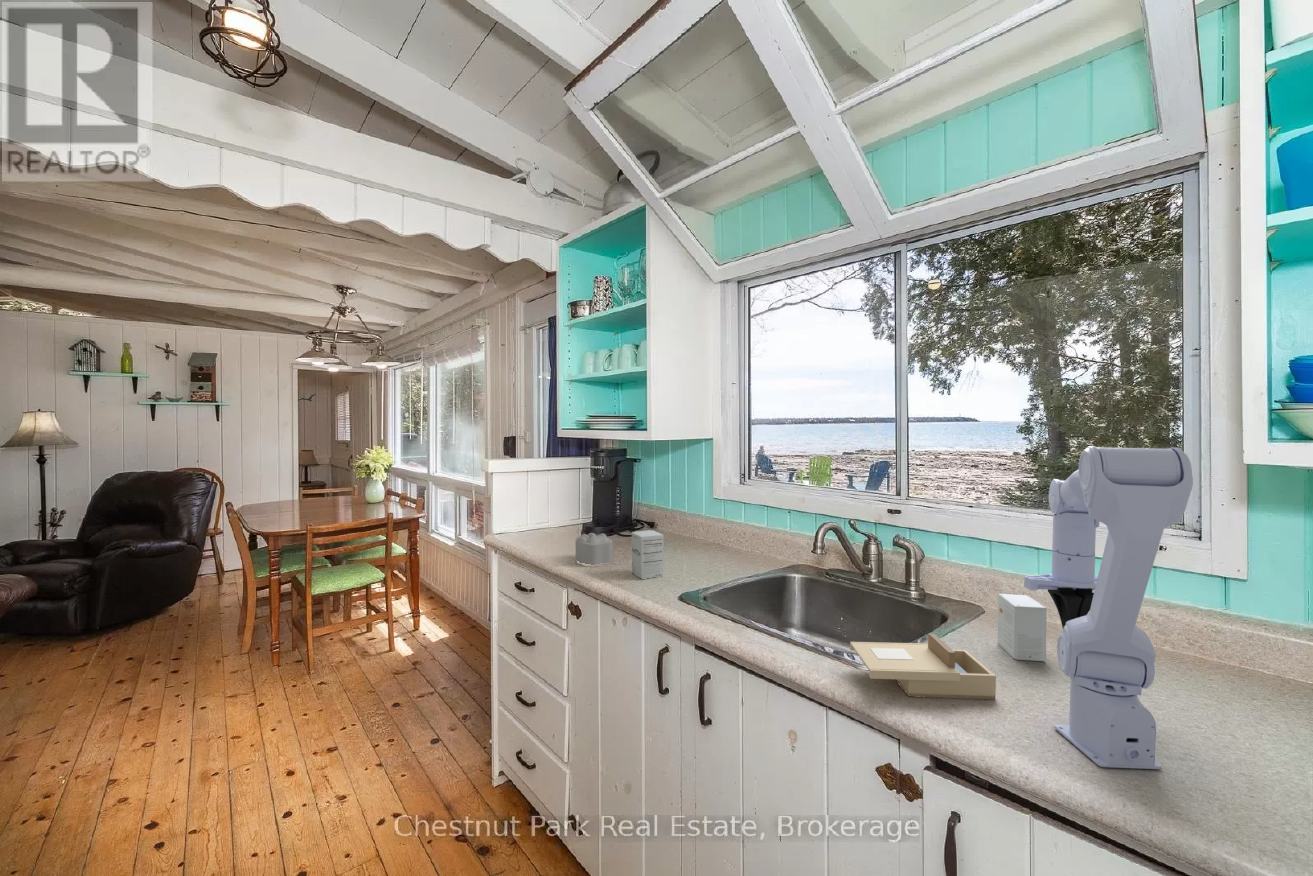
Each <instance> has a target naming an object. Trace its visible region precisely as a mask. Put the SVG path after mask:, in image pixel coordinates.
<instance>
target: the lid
mask: <svg viewBox="0 0 1313 876" xmlns="http://www.w3.org/2000/svg"><path fill="white" fill-rule="evenodd" d="M927 635H928V636H927V639H928V640H927V642H928V643H922V642H921V643H919V642H918V643H915V642H913V643H912V642H882V641H881V642H880V641H879V642H876V641H875V642H874V641H849V642H850V643H849V650H850V651H854V652H855V653H856V654H857V656H858V657H859V659H860V660H861V662H862V663H863V665H865V667H866V669H867V670H868V671H869V679H870V680H872V679H874V680H895V679H902V680H937V681H960V672H958V670H957V669H956V668H955V652H954V651H953V650H954V649H953V648H950V646H949V645H948V644H947V643H945V641H943V640H942V639H941V638H940V637H939V636H938V635H937V634H935V633H928V634H927Z"/></svg>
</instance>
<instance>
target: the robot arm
mask: <svg viewBox="0 0 1313 876" xmlns="http://www.w3.org/2000/svg"><path fill="white" fill-rule="evenodd" d="M1193 486H1194V478H1193V468H1192V463H1191V459H1190V458H1189V456H1188V455H1187V454H1186V453H1185V452H1184V451H1183V450H1182V449H1181V448H1179V447H1170V448H1152V447H1150V448H1146V447H1145V448H1144V447H1143V448H1142V447H1134V448H1133V447H1099V446H1098V447H1097V446H1095V445H1089V446H1086V448H1085V449H1084V450H1083V451H1082V452H1081V453H1080V457H1079V460H1078V469H1077V470H1075V471H1073V472H1072V473H1071V475H1069V476H1068V477H1067V478H1066V479H1065V480H1060V479H1058V478H1057V479H1056V478H1053V479H1051V482H1050V485H1049V490H1048V503H1049V504H1048V505H1049V509H1050V513H1051V514H1052V518H1053V519H1052V551H1051V573H1046V574H1038V575H1024V580H1023V585H1024V586H1023V587H1024V588H1026V589H1028V590H1030V591H1036V592H1037V591H1038V590H1047V592H1048V594H1049V596H1050V597H1051V599H1052V600H1053V603H1054V605H1055V608H1056V609H1057V612H1058V615H1059V618H1060V622H1061V626H1062V631H1061V633H1060V634H1058V635H1057V636H1058V637H1057V641H1056V653H1057V655H1056V656H1057V661H1058V666H1059V669H1060V670H1061V672H1062V673H1063V674H1064V675H1065V677H1069V678H1070V681H1069V682H1070V685H1069V717H1068V718H1069V719H1068V721H1069V722H1068V724H1056V723H1055V724H1054V726H1053V727H1054V729H1055V730H1056V731H1058V732H1059V733H1060V734H1061V735H1062V736H1063V737H1064V738H1065V739H1066V740H1068V741H1069V742H1070V743H1071V744H1073V745H1074V746H1075V747H1076V748H1077V749H1078V750H1080V752H1082V753H1083V754H1084V755H1085V756H1087V758H1089V759H1090V760H1091V761H1092V762H1094V763H1095V764H1096V765H1097V766H1099V767H1102V768H1116V769H1117V768H1118V769H1121V768H1122V769H1140V770H1141V769H1143V770H1144V769H1145V770H1146V769H1147V770H1162V765H1161V763H1159V762H1158V761H1157V760H1156V738H1157V735H1156V734H1157V723H1156V719H1155V717H1154V715H1153V714H1152V712H1151V711H1149V710H1148V708H1146V707H1145V706H1144V705H1143V704H1142V703H1141V701H1140V699H1139V697H1138V696H1142V694H1143V693H1142V692H1143V691H1142V690H1144V689H1148V688H1149V687H1150V686H1151V685H1153V682H1154V681H1155V680H1154V679H1155V677H1156V672H1155V671H1156V669H1155V668H1156V667H1155V666H1156V665H1155V662H1156V658H1157V657H1156V656H1157V655H1156V650H1155V648H1154V645H1153V643H1152V641H1151V639H1150V637H1149V636H1148V634H1147V633H1146V632H1145V630H1144V629H1142V628H1140V627H1139V626H1137V625H1136V624H1137V621H1138V618H1139V614H1140V611H1141V608H1142V605H1143V601H1144V597H1145V593H1146V591H1147V587H1148V583H1149V579H1150V578H1151V577H1150V576H1151V573H1152V570H1153V567H1154V563H1155V560H1156V556H1157V553H1158V550H1159V547H1160V543H1161V540H1162V538H1163V537H1162V536H1163V533H1164V531H1165V529H1167V528H1169V527H1171V526H1174V525H1176V524H1178V523H1181V521H1182V520H1183V519H1182V518H1183V516H1184V514H1185V512H1186V509H1187V506H1188V502H1189V499H1190V496H1191V492H1192V489H1193ZM1100 523H1101V524H1104V525H1105V526H1106V528H1107V530H1108V533H1107V536H1106V541H1105V543H1104V544H1105V546H1104V549H1103V553H1102V557H1101V562H1100V566H1099V570H1098V575H1095V568H1096V566H1095V565H1096V534H1097V528H1099V526H1100ZM1093 591H1094V592H1093Z"/></svg>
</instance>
